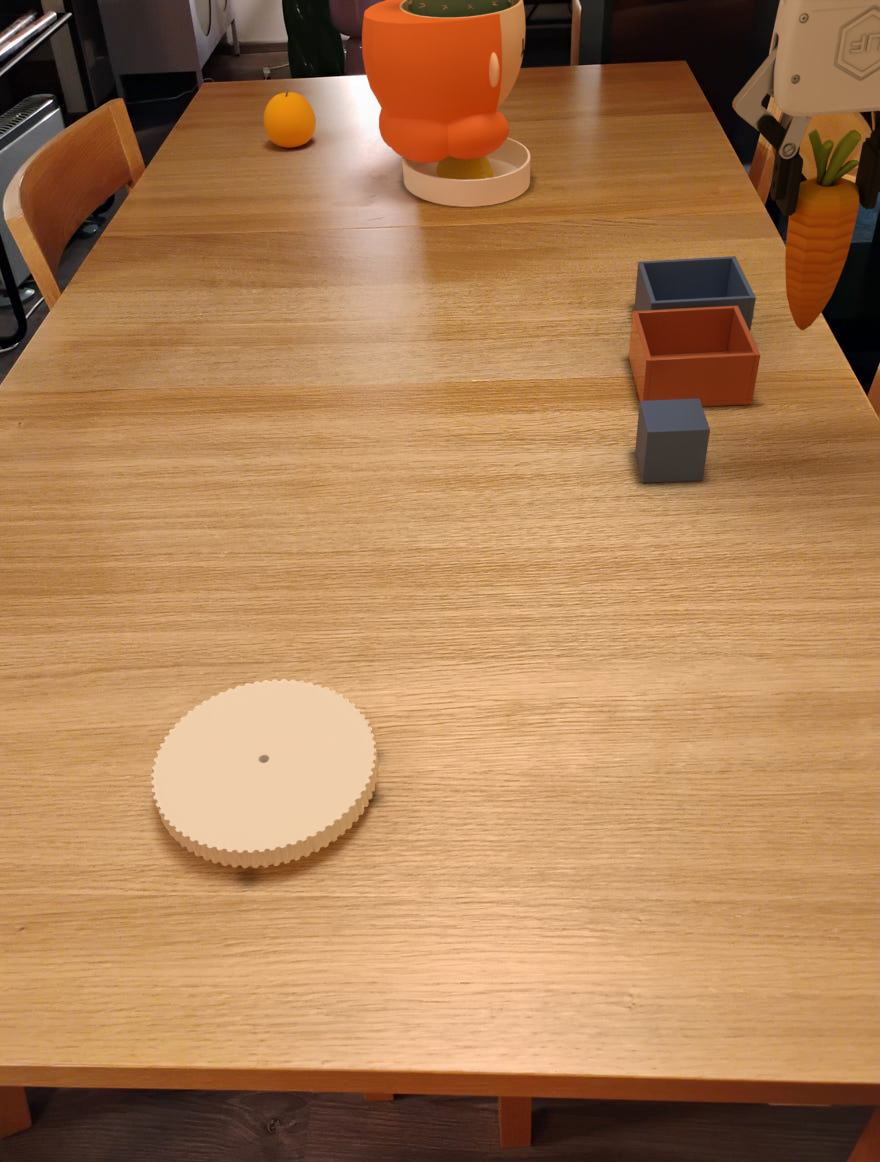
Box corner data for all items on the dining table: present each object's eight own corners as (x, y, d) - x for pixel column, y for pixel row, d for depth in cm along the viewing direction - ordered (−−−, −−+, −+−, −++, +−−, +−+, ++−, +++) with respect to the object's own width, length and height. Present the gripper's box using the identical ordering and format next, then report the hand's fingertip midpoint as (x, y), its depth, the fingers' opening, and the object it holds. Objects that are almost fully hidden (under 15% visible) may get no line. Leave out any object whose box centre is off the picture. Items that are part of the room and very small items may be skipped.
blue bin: (728, 301, 110) (735, 255, 107) (748, 345, 103) (756, 297, 99) (634, 306, 111) (638, 261, 108) (646, 350, 104) (651, 303, 100)
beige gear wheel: (288, 675, 73) (282, 649, 71) (425, 781, 65) (423, 754, 63) (118, 788, 66) (108, 762, 64) (248, 921, 58) (240, 896, 56)
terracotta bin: (730, 353, 102) (738, 305, 98) (751, 404, 94) (760, 354, 91) (628, 358, 103) (632, 310, 99) (641, 409, 95) (646, 360, 92)
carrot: (760, 320, 83) (788, 122, 73) (820, 311, 83) (856, 112, 73) (783, 347, 80) (817, 143, 70) (846, 338, 80) (889, 133, 70)
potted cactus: (489, 146, 153) (483, -146, 130) (557, 192, 137) (565, -132, 114) (353, 175, 149) (322, -123, 125) (407, 225, 133) (384, -105, 109)
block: (692, 448, 90) (699, 397, 86) (702, 481, 86) (710, 429, 83) (634, 451, 90) (639, 400, 87) (642, 483, 87) (647, 431, 83)
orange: (257, 149, 161) (249, 97, 156) (289, 134, 165) (282, 82, 160) (296, 155, 157) (289, 102, 152) (328, 139, 162) (322, 87, 157)
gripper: (747, -71, 61) (714, 235, 73) (1049, -104, 59) (964, 215, 71) (723, -91, 66) (696, 197, 79) (999, -121, 65) (927, 178, 77)
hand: (824, 203), depth 75 cm, fingers closed on carrot, 4 cm apart
